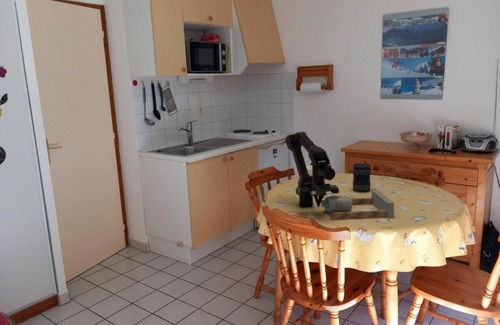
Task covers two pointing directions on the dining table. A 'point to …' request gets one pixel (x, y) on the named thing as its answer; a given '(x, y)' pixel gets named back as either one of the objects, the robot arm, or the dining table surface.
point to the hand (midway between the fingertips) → (318, 206)
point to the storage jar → (361, 177)
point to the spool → (338, 204)
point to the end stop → (383, 203)
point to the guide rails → (358, 213)
